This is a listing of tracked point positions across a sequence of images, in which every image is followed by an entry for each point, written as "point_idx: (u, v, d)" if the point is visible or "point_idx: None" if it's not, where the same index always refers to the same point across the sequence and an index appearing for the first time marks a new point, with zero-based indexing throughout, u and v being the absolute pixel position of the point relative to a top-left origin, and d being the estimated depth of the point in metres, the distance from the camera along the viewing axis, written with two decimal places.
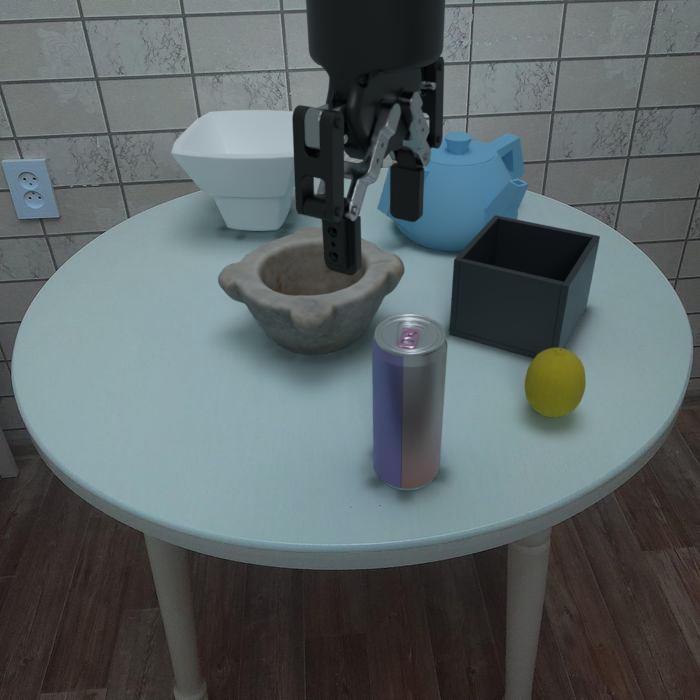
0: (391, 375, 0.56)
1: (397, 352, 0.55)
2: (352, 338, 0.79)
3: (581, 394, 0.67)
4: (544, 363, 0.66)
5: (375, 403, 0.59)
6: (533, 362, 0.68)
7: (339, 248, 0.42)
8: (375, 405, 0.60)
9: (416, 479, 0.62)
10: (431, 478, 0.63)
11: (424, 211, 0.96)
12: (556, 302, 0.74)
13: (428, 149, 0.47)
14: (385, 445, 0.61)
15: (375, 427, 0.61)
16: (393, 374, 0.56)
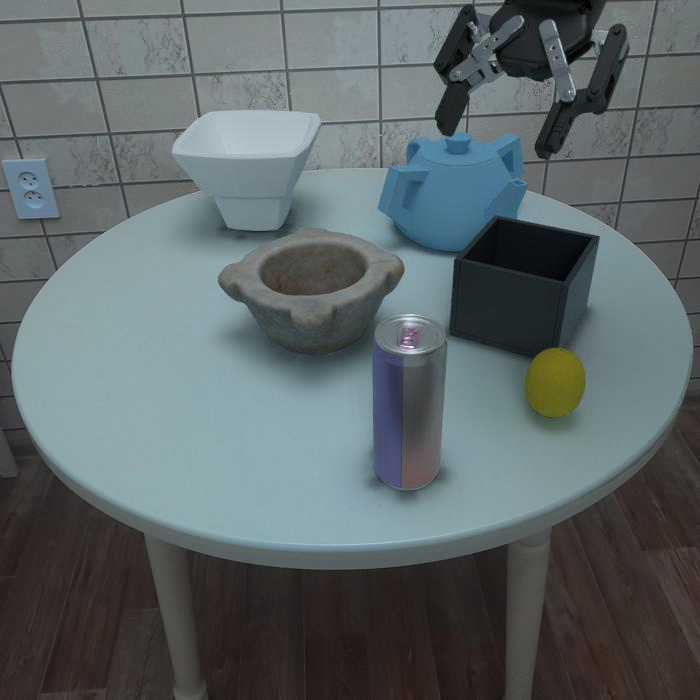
0: (391, 375, 0.56)
1: (397, 352, 0.55)
2: (352, 338, 0.79)
3: (581, 394, 0.67)
4: (544, 363, 0.66)
5: (375, 403, 0.59)
6: (533, 362, 0.68)
7: (441, 103, 0.59)
8: (375, 405, 0.60)
9: (416, 479, 0.62)
10: (431, 478, 0.63)
11: (424, 211, 0.96)
12: (556, 302, 0.74)
13: (572, 89, 0.53)
14: (385, 445, 0.61)
15: (375, 427, 0.61)
16: (393, 374, 0.56)
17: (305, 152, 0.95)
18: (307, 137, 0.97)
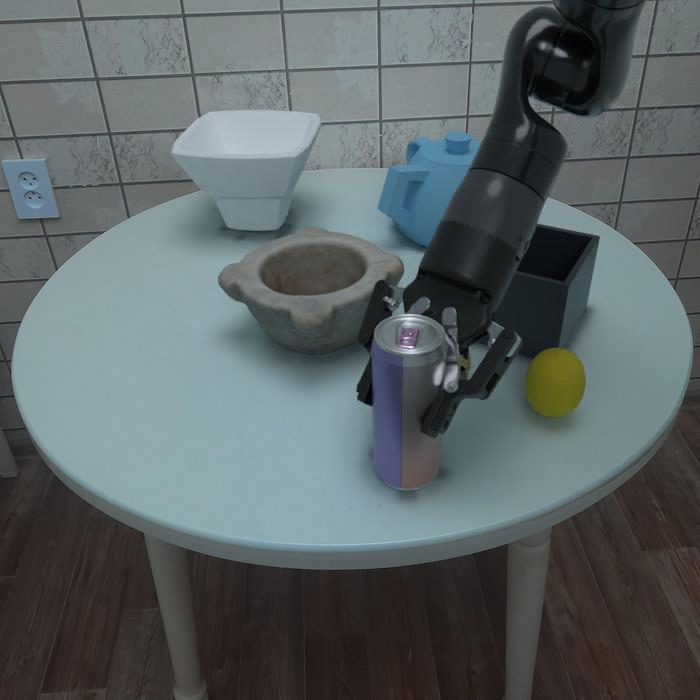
0: (391, 375, 0.56)
1: (397, 352, 0.55)
2: (352, 338, 0.79)
3: (581, 394, 0.67)
4: (544, 363, 0.66)
5: (375, 403, 0.59)
6: (533, 362, 0.68)
7: (363, 375, 0.62)
8: (375, 405, 0.60)
9: (416, 479, 0.62)
10: (431, 478, 0.63)
11: (424, 211, 0.96)
12: (556, 302, 0.74)
13: (455, 380, 0.57)
14: (385, 445, 0.61)
15: (375, 427, 0.61)
16: (393, 374, 0.56)
17: (305, 152, 0.95)
18: (307, 137, 0.97)
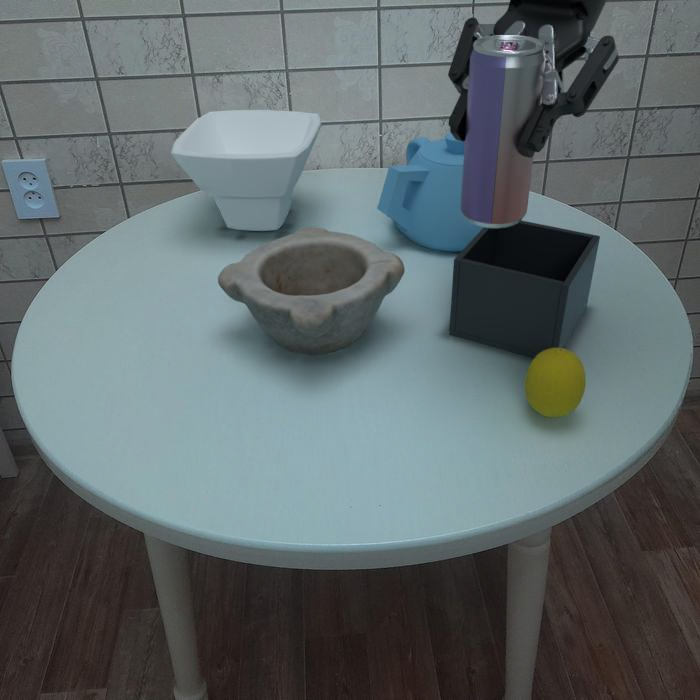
0: (492, 81, 0.57)
1: (500, 52, 0.55)
2: (352, 338, 0.79)
3: (581, 394, 0.67)
4: (544, 363, 0.66)
5: (470, 126, 0.60)
6: (533, 362, 0.68)
7: (454, 110, 0.63)
8: (470, 129, 0.60)
9: (507, 213, 0.63)
10: (520, 215, 0.64)
11: (424, 211, 0.96)
12: (556, 302, 0.74)
13: (553, 92, 0.58)
14: (478, 173, 0.61)
15: (468, 157, 0.62)
16: (494, 79, 0.57)
17: (305, 152, 0.95)
18: (307, 137, 0.97)
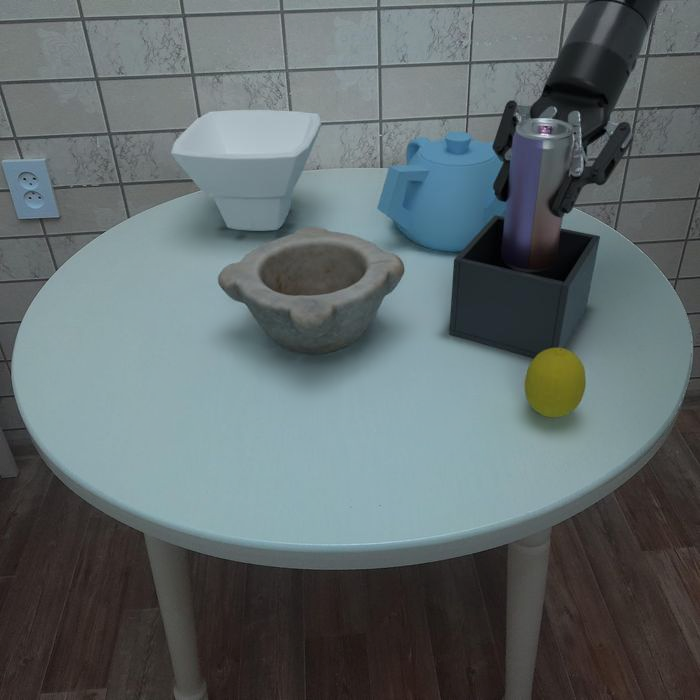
0: (531, 158, 0.71)
1: (539, 137, 0.69)
2: (352, 338, 0.79)
3: (581, 394, 0.67)
4: (544, 363, 0.66)
5: (512, 191, 0.74)
6: (533, 362, 0.68)
7: (498, 176, 0.77)
8: (512, 193, 0.74)
9: (540, 260, 0.77)
10: (552, 262, 0.78)
11: (424, 211, 0.96)
12: (556, 302, 0.74)
13: (580, 166, 0.72)
14: (518, 228, 0.75)
15: (509, 215, 0.76)
16: (533, 157, 0.70)
17: (305, 152, 0.95)
18: (307, 137, 0.97)
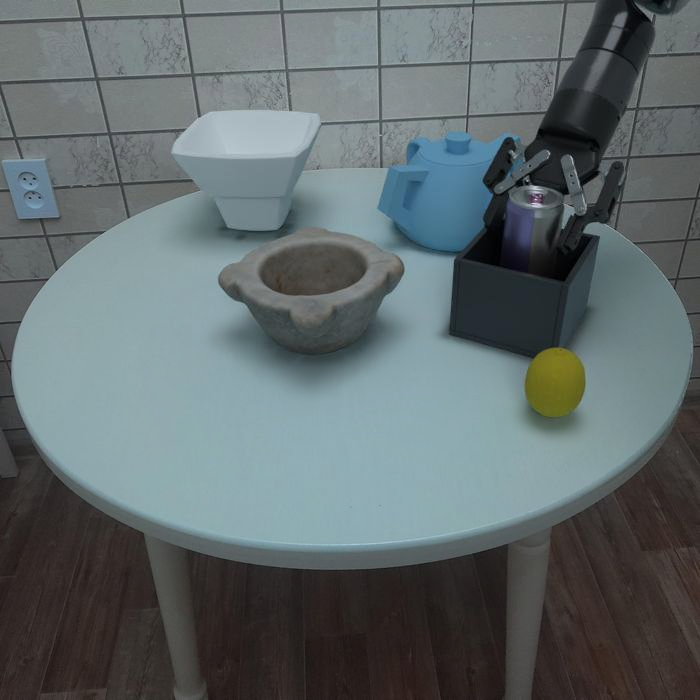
0: (524, 226, 0.75)
1: (531, 207, 0.73)
2: (352, 338, 0.79)
3: (581, 394, 0.67)
4: (544, 363, 0.66)
5: (505, 254, 0.78)
6: (533, 362, 0.68)
7: (487, 209, 0.80)
8: (505, 256, 0.78)
9: None
10: None
11: (424, 211, 0.96)
12: (556, 302, 0.74)
13: (584, 206, 0.74)
14: None
15: None
16: (525, 225, 0.75)
17: (305, 152, 0.95)
18: (307, 137, 0.97)
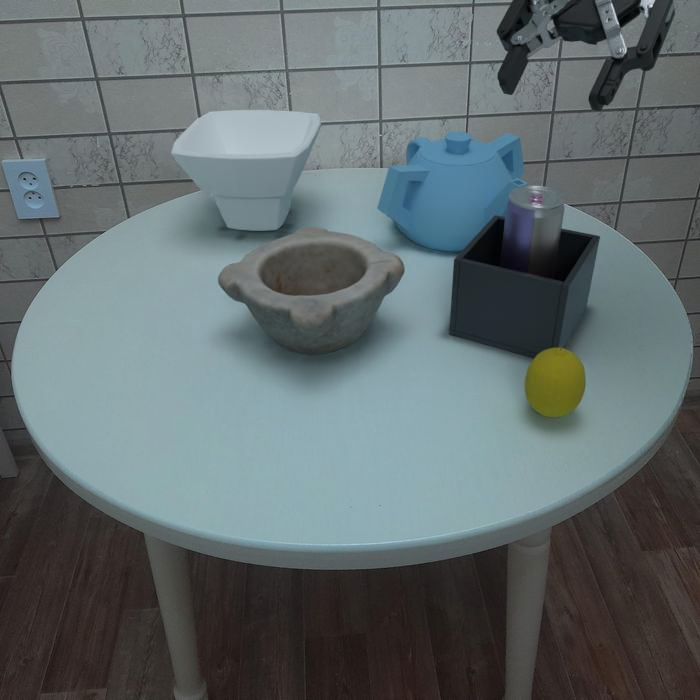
0: (524, 226, 0.75)
1: (531, 207, 0.73)
2: (352, 338, 0.79)
3: (581, 394, 0.67)
4: (544, 363, 0.66)
5: (506, 254, 0.78)
6: (533, 362, 0.68)
7: (503, 65, 0.66)
8: (505, 256, 0.78)
9: None
10: None
11: (424, 211, 0.96)
12: (556, 302, 0.74)
13: (623, 46, 0.60)
14: None
15: None
16: (525, 225, 0.75)
17: (305, 152, 0.95)
18: (307, 137, 0.97)
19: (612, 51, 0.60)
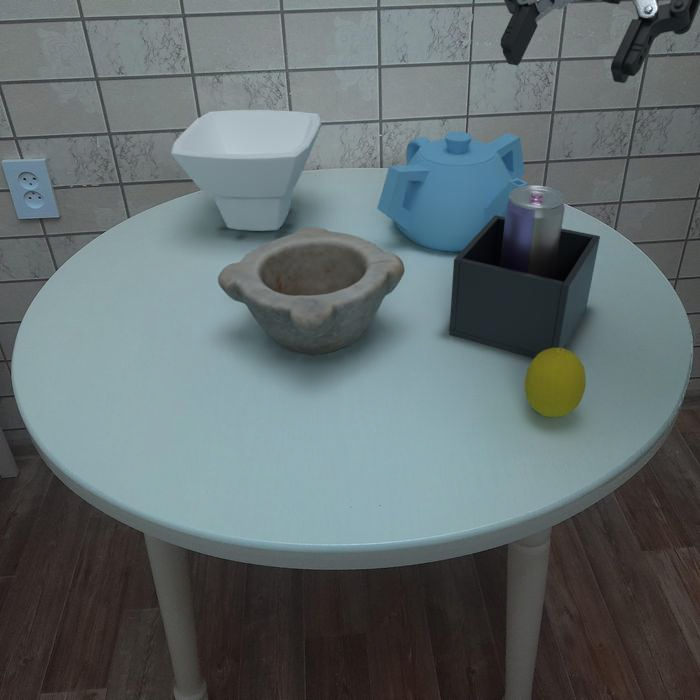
0: (524, 226, 0.75)
1: (531, 207, 0.73)
2: (352, 338, 0.79)
3: (581, 394, 0.67)
4: (544, 363, 0.66)
5: (506, 254, 0.78)
6: (533, 362, 0.68)
7: (507, 29, 0.55)
8: (505, 256, 0.78)
9: None
10: None
11: (424, 211, 0.96)
12: (556, 302, 0.74)
13: (654, 4, 0.49)
14: None
15: None
16: (526, 225, 0.75)
17: (305, 152, 0.95)
18: (307, 137, 0.97)
19: (640, 10, 0.50)
